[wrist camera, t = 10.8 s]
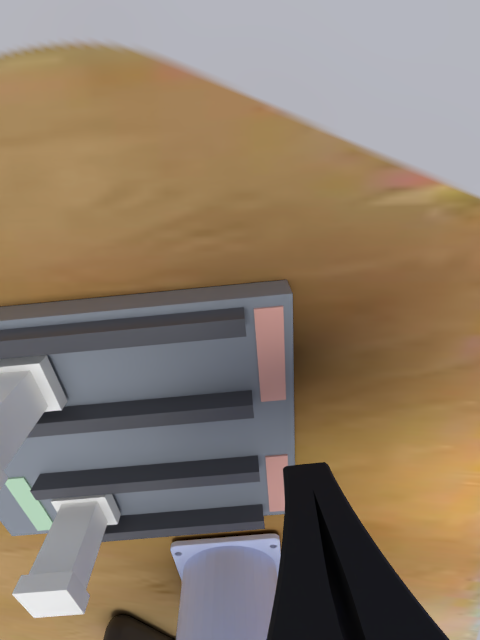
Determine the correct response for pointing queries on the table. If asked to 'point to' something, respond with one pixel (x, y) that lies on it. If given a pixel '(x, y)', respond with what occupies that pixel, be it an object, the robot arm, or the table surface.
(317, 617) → the robot arm
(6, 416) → the breaker
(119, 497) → the panel
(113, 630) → the leaning round-cornered charcoal block
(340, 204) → the table surface
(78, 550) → the breaker
